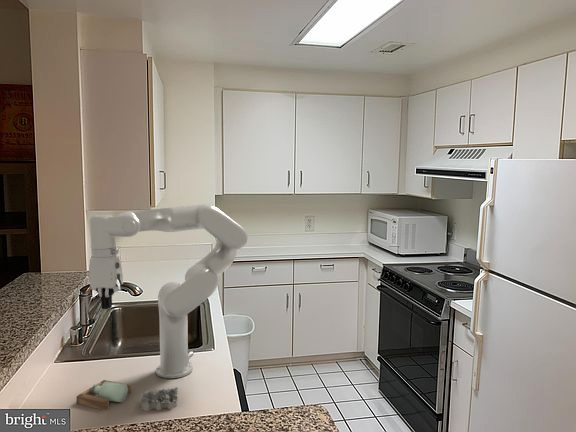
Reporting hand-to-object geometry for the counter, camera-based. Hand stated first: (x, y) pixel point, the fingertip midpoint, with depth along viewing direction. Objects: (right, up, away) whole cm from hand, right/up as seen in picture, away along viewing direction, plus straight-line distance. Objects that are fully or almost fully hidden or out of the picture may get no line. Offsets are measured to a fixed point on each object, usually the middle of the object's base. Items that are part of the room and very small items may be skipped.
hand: (106, 307), depth 148 cm
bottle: (+9, -24, -10) cm, 28 cm away
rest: (+3, -26, -8) cm, 28 cm away
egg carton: (+21, -27, -11) cm, 36 cm away
